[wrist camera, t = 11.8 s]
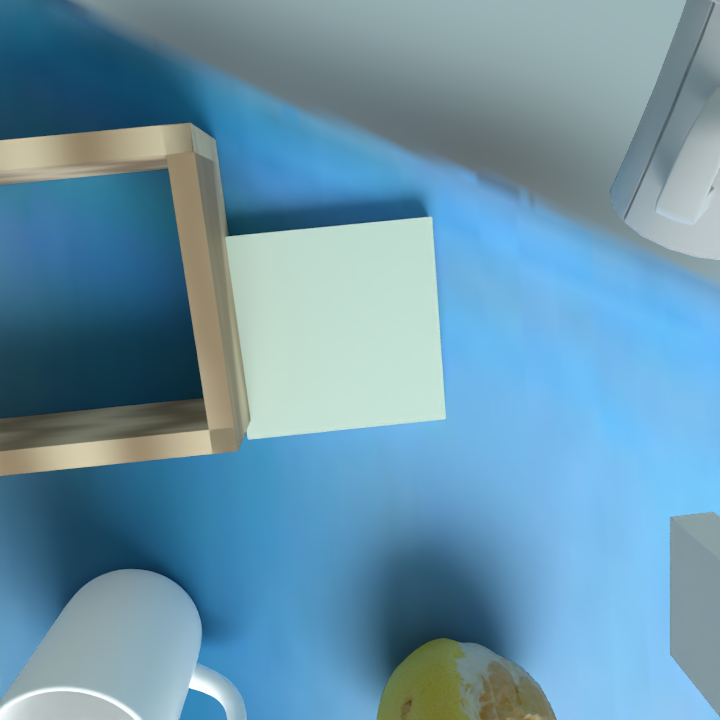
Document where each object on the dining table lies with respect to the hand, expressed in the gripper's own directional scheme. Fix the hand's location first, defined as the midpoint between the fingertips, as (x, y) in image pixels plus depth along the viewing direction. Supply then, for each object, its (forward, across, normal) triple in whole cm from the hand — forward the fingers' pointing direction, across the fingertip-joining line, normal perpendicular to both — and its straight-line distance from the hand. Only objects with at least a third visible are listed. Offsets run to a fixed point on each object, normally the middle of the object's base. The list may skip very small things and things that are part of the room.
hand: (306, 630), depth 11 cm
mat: (+25, +1, +1) cm, 25 cm away
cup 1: (+25, -12, -17) cm, 32 cm away
